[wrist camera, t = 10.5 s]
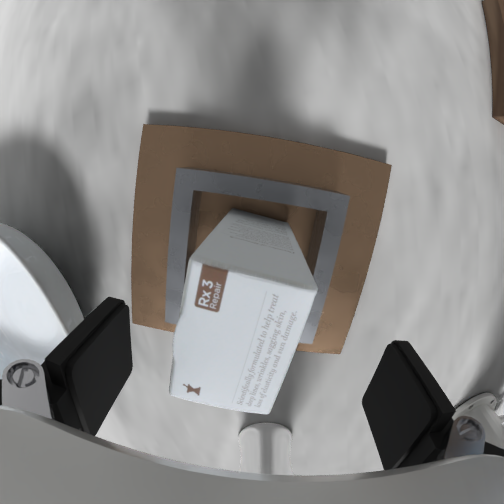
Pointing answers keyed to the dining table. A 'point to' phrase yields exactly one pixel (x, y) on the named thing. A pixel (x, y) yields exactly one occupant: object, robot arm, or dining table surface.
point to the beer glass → (265, 449)
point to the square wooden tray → (496, 52)
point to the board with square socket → (257, 202)
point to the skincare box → (241, 314)
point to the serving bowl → (31, 301)
